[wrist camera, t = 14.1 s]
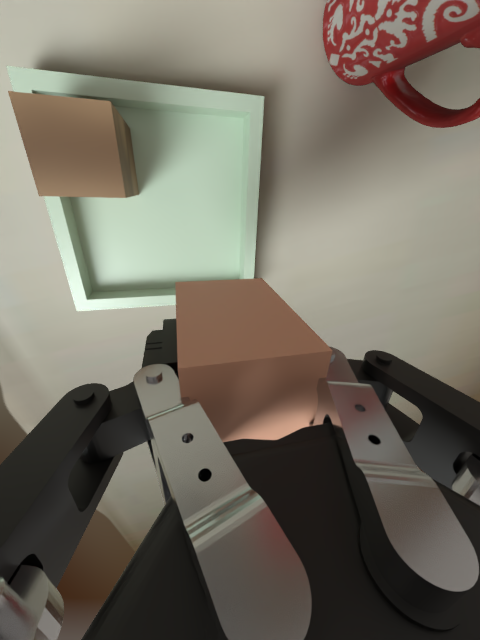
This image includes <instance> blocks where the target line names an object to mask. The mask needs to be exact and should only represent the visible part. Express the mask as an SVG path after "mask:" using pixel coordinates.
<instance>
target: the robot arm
mask: <svg viewBox="0 0 480 640" xmlns="http://www.w3.org/2000/svg"><path fill="white" fill-rule="evenodd" d="M330 348H331V350H332V355H331V359H330V364H329V368H328V372H327V377H325V378H319V380H318V384H317V389H316V390H317V394H318V406H317V411H316V415H315V419H314V422H309V426H308V427H304V428H301V429H299V430H297V431H295V432H293V433H291V434H289V435H286V436H284V437H282V438H280V439H278V440H262V439H238V440H233V441H227V442H222V440H221V438H220V437H219V435H218V433H217V432H216V430H215V428H214V427H213V425H212V423H211V422H210V420H209V418H208V417H207V415H206V413H205V412H204V410H203V408H202V407H201V405H200V403H199V402H198V401H197V400H196V399H194V400H190V399H189V397H182V398H181V395H180V385H179V375H178V358H177V323H176V319H165V320H164V321H163V330H155V331H152V332H151V333H150V334H149V335H148V336H147V340H146V346H145V352H144V358H143V364H142V369H140V370H139V371H138V372H137V373H136V374H135V375H134V378H133V382H131V383H130V384H128V385H126V386H124V387H121V388H118V389H115V390H112V391H109V390H108V388H107V387H106V386H105V385H102V384H97V383H92V384H86V385H82V386H79V387H77V388H75V389H73V390H71V391H70V392H68V393H67V394H66V395H65V396H64V397H63V398H62V399H61V400H60V401H59V402H58V403H57V404H56V405H55V406H54V407H53V408H52V409H51V411H50V412H49V413H48V414H47V415H46V416H45V417H44V418H43V419H42V420H41V421H40V422H39V424H38V425H37V426H36V427H35V428H34V429H33V430H32V431H31V432H30V433H29V434H28V435H27V436H26V438H25V439H24V440H23V441H22V442H21V443H20V444H19V445H18V446H17V447H16V448H15V449H14V451H13V452H12V453H11V454H10V455H9V456H8V457H7V458H6V459H5V460H4V461H3V462H2V464H1V465H0V640H57V638H58V635H59V632H60V629H61V626H62V621H63V615H64V604H63V600H62V597H61V595H60V593H59V592H58V590H57V589H56V588H57V586H58V584H59V582H60V580H61V578H62V576H63V574H64V572H65V570H66V568H67V566H68V564H69V562H70V560H71V558H72V556H73V554H74V551H75V549H76V548H77V545H78V544H79V541H80V539H81V538H82V536H83V533H84V532H85V530H86V528H87V525H88V524H89V522H90V519H91V518H92V516H93V514H94V512H95V510H96V508H97V506H98V504H99V502H100V500H101V498H102V496H103V494H104V492H105V490H106V488H107V486H108V484H109V482H110V480H111V478H112V476H113V473H114V471H115V469H116V467H117V465H118V463H119V461H120V459H121V457H122V455H123V452H124V451H126V450H129V449H131V448H133V447H135V446H137V445H139V444H142V443H144V442H147V445H148V449H149V452H150V455H151V459H152V462H153V465H154V468H155V472H156V475H157V479H158V482H159V486H160V490H161V494H162V498H163V502H164V505H165V506H164V508H163V509H162V511H161V513H160V514H159V516H158V517H157V519H156V521H155V522H154V524H153V525H152V527H151V529H150V530H149V532H148V533H147V535H146V537H145V538H144V540H143V541H142V543H141V545H140V546H139V548H138V549H137V551H136V553H135V554H134V556H133V558H132V559H131V561H130V562H129V564H128V566H127V567H126V569H125V571H124V572H123V574H122V575H121V577H120V579H119V580H118V582H117V583H116V585H115V586H114V588H113V590H112V591H111V593H110V595H109V596H108V598H107V599H106V601H105V603H104V604H103V606H102V607H101V609H100V610H99V612H98V614H97V615H96V617H95V618H94V620H93V622H92V623H91V625H90V627H89V629H88V630H87V631H86V633H85V635H84V636H83V638H82V639H81V640H480V402H478V401H476V400H474V399H473V398H471V397H469V396H467V395H465V394H463V393H462V392H460V391H458V390H456V389H454V388H452V387H451V386H449V385H447V384H445V383H443V382H441V381H440V380H438V379H436V378H434V377H432V376H430V375H428V374H427V373H425V372H423V371H421V370H419V369H417V368H416V367H414V366H412V365H410V364H408V363H406V362H405V361H403V360H401V359H399V358H397V357H395V356H393V355H391V354H389V353H386V352H383V351H376V350H373V351H368V352H367V353H366V354H365V356H364V360H352V359H346V357H345V355H344V354H343V353H342V352H341V351H339V350H338V349H336V348H333V347H330ZM393 391H394V392H396V393H397V394H399V395H400V396H402V397H403V398H405V399H406V400H408V401H409V402H411V403H412V404H414V405H415V406H417V407H418V408H419V409H420V411H421V412H422V415H423V419H422V421H421V423H420V425H419V424H418V423H416V422H415V421H414V420H412V419H411V418H409V417H408V416H406V415H405V414H404V413H402V412H401V411H399V410H398V409H396V408H395V407H394V406H392V405H391V404H389V403H388V402H389V400H390V397H391V395H392V392H393ZM416 465H417V466H418V467H419V468H420V469H421V470H423V471H424V472H425V473H426V474H425V473H423V472H421V471H420V470H419V469H418V468H417V466H416ZM428 475H429V476H428Z"/></svg>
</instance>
